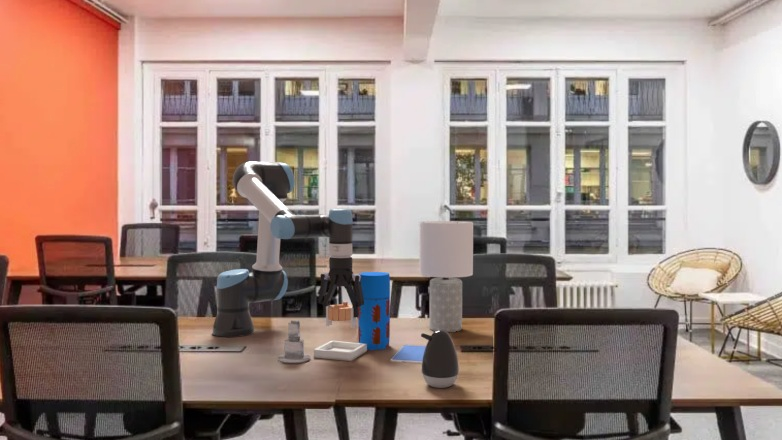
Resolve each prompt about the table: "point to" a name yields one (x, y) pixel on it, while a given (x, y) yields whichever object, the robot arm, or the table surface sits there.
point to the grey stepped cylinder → (294, 346)
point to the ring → (340, 312)
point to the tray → (340, 350)
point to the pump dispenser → (439, 360)
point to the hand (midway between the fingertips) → (341, 326)
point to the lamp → (446, 269)
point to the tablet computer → (409, 354)
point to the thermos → (375, 310)
